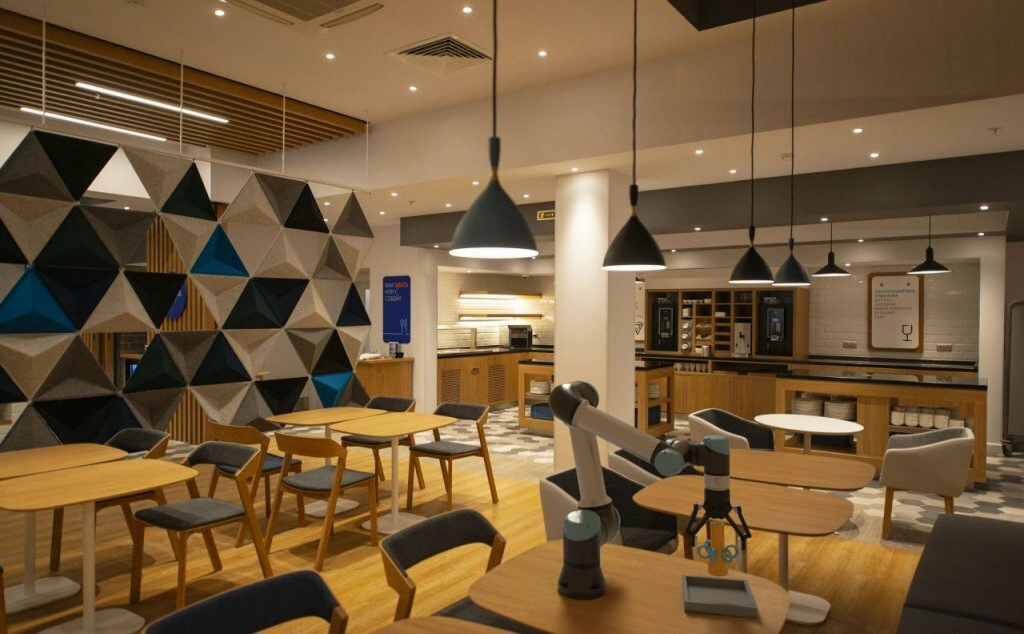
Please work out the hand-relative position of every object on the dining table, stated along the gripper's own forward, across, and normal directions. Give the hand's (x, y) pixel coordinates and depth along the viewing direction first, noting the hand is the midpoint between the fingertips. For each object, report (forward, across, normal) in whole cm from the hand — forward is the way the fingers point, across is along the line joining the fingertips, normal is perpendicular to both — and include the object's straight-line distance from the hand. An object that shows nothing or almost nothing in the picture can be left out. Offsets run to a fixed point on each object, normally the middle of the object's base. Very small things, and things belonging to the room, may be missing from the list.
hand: (717, 558), depth 194 cm
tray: (+13, 0, 0) cm, 13 cm away
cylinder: (+5, 0, 0) cm, 5 cm away
